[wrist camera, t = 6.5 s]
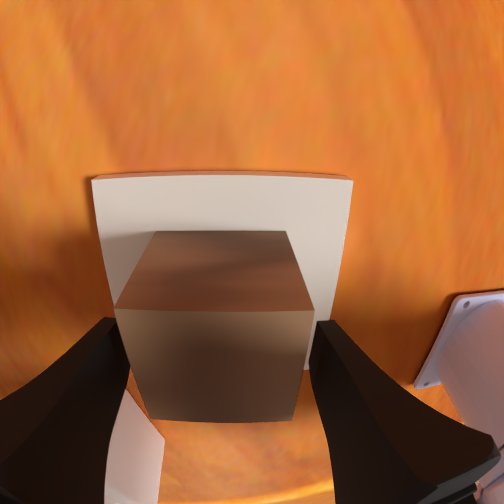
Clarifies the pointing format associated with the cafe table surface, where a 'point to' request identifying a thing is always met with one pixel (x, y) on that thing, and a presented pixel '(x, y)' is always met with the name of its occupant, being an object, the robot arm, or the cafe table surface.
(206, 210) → the cream square tile
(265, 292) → the walnut block
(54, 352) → the cafe table surface
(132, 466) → the medicine bottle
